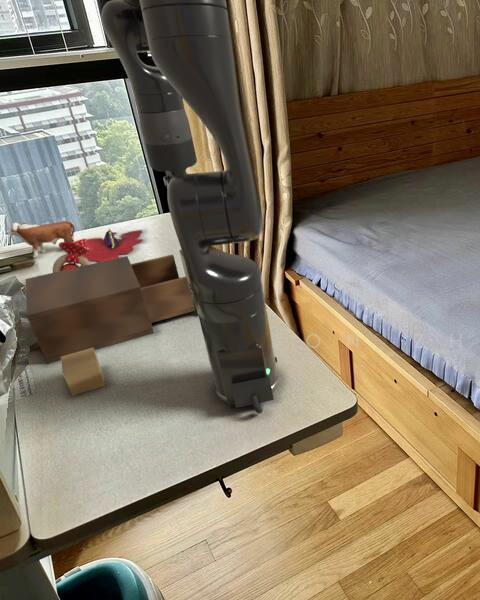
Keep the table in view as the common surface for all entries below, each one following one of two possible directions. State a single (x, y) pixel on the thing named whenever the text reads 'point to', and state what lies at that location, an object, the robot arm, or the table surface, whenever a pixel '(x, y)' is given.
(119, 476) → the table surface
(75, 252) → the bird rattle
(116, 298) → the cabinet
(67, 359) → the beech block
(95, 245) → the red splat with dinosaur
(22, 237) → the bull figurine
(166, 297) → the drawer
